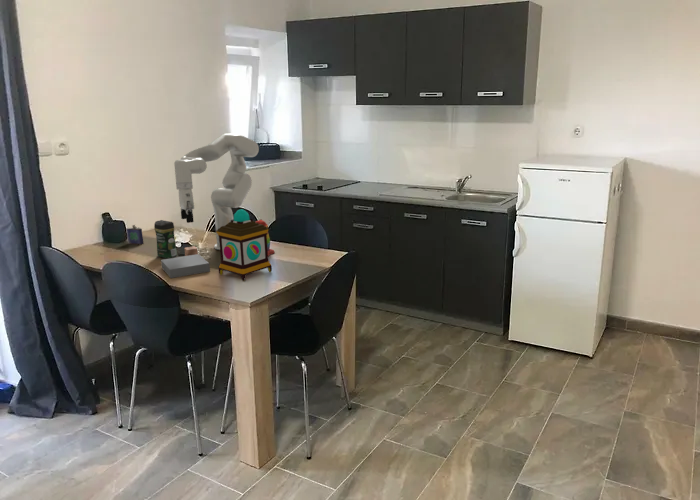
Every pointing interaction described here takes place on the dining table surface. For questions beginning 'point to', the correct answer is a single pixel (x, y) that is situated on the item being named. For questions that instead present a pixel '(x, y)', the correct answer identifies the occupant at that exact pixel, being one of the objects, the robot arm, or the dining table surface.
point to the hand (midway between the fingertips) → (187, 220)
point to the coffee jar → (165, 239)
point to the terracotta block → (190, 251)
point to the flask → (134, 235)
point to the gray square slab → (185, 265)
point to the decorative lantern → (243, 246)
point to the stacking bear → (267, 237)
